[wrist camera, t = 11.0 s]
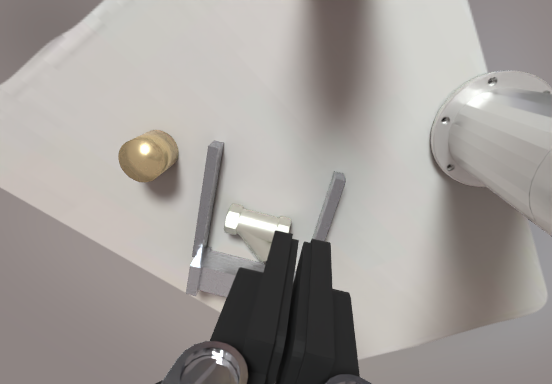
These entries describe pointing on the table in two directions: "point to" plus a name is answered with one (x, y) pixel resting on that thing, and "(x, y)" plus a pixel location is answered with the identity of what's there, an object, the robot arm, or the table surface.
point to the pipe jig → (222, 267)
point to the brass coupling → (148, 155)
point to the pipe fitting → (255, 228)
